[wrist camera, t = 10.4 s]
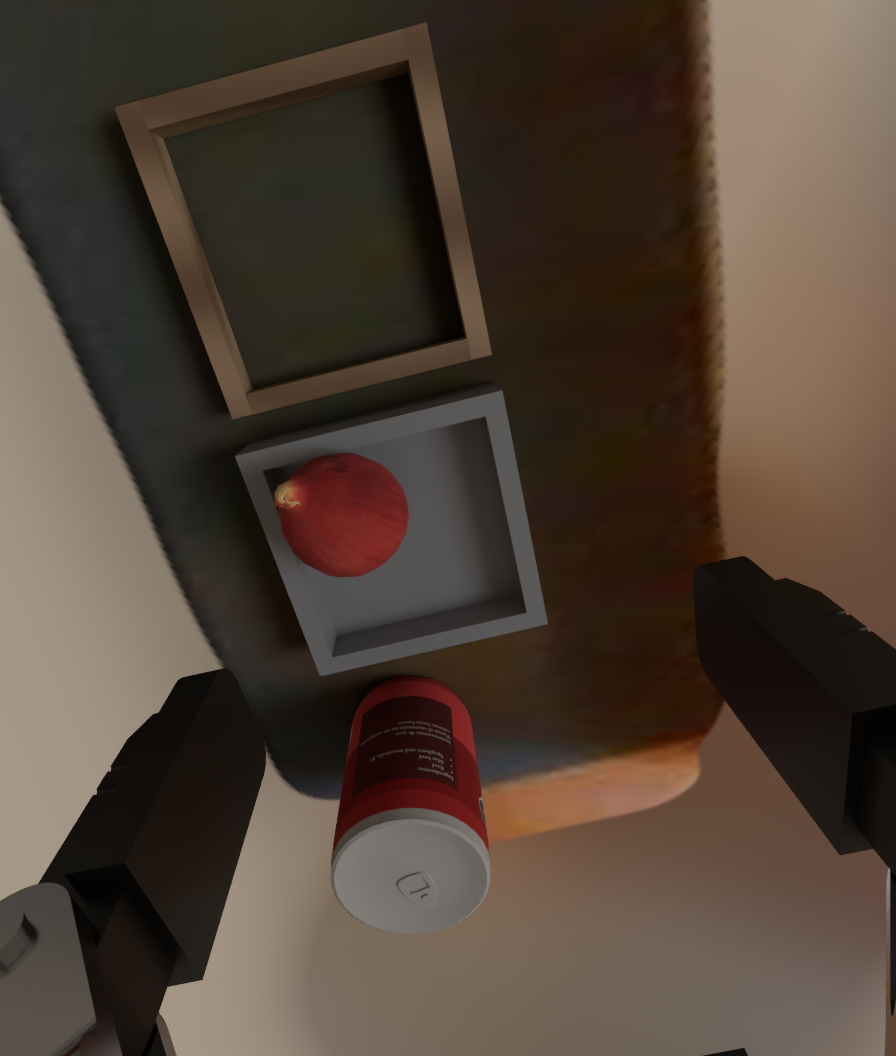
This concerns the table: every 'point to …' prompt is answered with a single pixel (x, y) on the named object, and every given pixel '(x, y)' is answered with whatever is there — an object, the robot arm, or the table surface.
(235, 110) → the square frame
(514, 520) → the bin
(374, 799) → the canned food
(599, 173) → the table surface
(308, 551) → the onion
